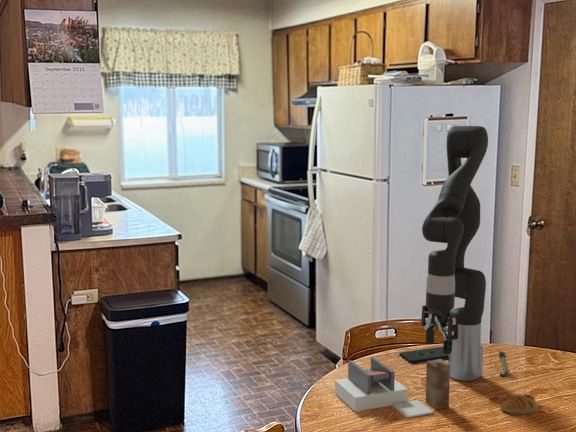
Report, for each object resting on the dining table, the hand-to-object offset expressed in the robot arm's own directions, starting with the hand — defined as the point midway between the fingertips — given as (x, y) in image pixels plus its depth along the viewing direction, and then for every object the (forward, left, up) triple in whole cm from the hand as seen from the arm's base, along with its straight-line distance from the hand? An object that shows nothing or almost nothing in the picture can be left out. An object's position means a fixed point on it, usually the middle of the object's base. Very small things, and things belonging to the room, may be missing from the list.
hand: (438, 348), depth 187 cm
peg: (0, 0, -16) cm, 16 cm away
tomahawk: (-37, -17, -17) cm, 44 cm away
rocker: (+15, -11, -9) cm, 20 cm away
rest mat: (+8, 0, -16) cm, 18 cm away
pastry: (-19, +11, -17) cm, 28 cm away
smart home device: (-19, -33, -17) cm, 42 cm away
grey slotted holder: (+15, -11, -16) cm, 24 cm away
